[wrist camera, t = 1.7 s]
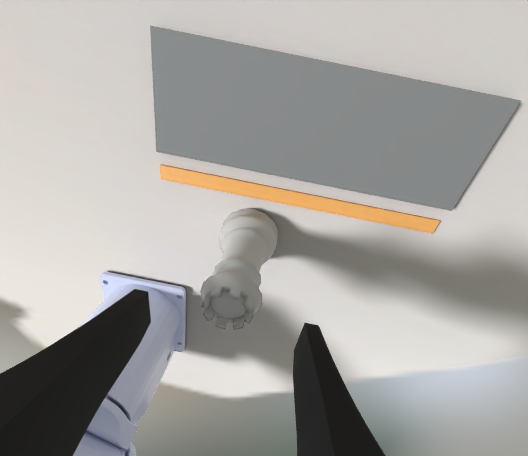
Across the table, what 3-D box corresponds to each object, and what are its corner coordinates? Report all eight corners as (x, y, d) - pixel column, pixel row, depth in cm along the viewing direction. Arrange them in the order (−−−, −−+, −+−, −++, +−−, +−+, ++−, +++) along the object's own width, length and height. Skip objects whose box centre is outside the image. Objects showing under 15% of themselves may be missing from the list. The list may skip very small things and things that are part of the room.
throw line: (430, 232, 17) (432, 233, 17) (162, 178, 17) (160, 179, 16) (438, 220, 16) (440, 221, 16) (161, 164, 16) (160, 165, 16)
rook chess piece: (272, 201, 17) (261, 269, 10) (283, 251, 19) (281, 339, 12) (215, 211, 18) (166, 282, 10) (231, 258, 19) (200, 344, 12)
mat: (446, 207, 16) (451, 210, 15) (160, 150, 16) (156, 151, 15) (511, 100, 13) (521, 100, 12) (156, 29, 13) (150, 25, 12)
